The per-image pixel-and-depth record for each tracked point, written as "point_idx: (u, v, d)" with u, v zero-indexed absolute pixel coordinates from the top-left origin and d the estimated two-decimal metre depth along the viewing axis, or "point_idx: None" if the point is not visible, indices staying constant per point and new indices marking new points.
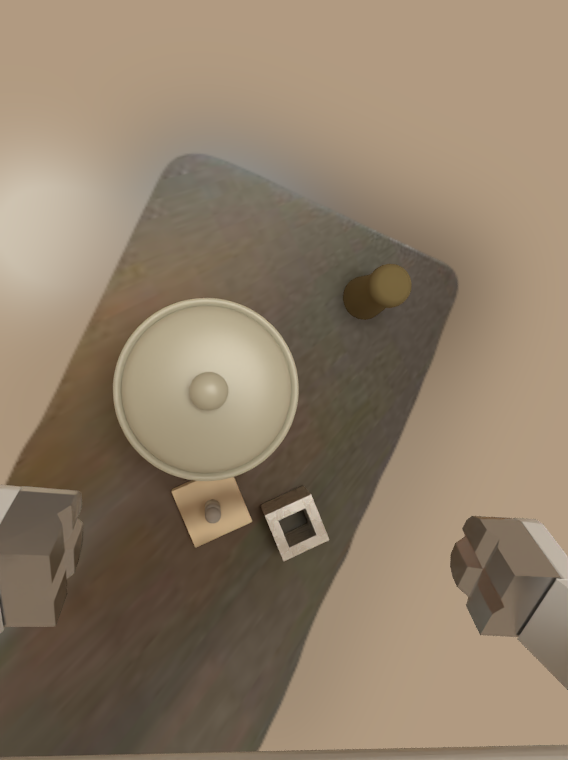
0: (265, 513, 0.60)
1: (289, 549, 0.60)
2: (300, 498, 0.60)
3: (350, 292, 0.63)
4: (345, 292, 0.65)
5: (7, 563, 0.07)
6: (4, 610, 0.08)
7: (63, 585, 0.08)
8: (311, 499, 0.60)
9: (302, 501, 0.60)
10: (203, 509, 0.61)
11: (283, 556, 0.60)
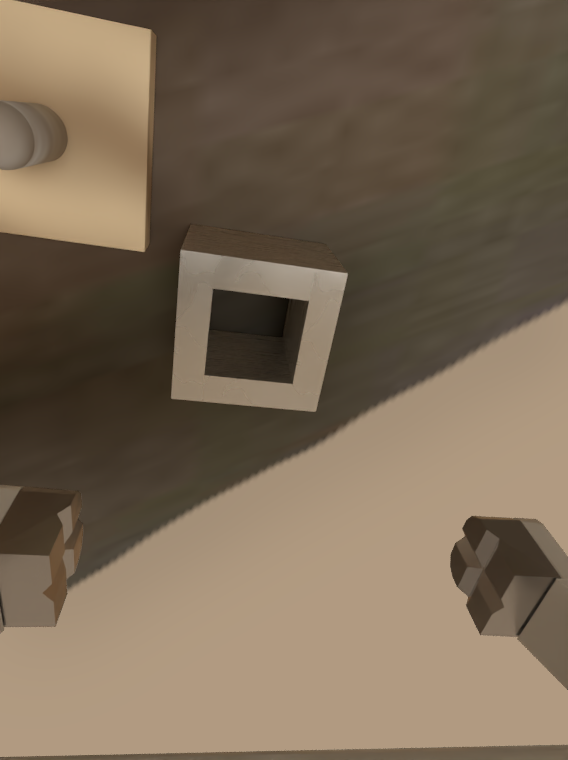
0: (188, 246, 0.18)
1: (202, 379, 0.20)
2: (311, 266, 0.18)
3: None
4: None
5: (7, 563, 0.07)
6: (4, 610, 0.08)
7: (63, 585, 0.08)
8: (340, 287, 0.19)
9: (312, 277, 0.18)
10: None
11: (176, 387, 0.20)
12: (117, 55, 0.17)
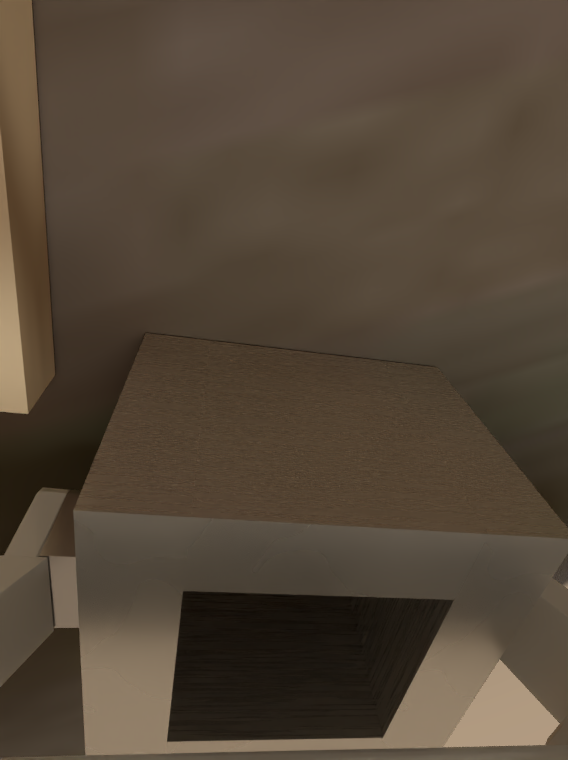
0: (108, 476, 0.06)
1: (162, 747, 0.08)
2: (468, 514, 0.06)
3: None
4: None
5: (61, 565, 0.07)
6: (55, 611, 0.08)
7: None
8: (545, 570, 0.07)
9: (474, 552, 0.06)
10: None
11: None
12: None
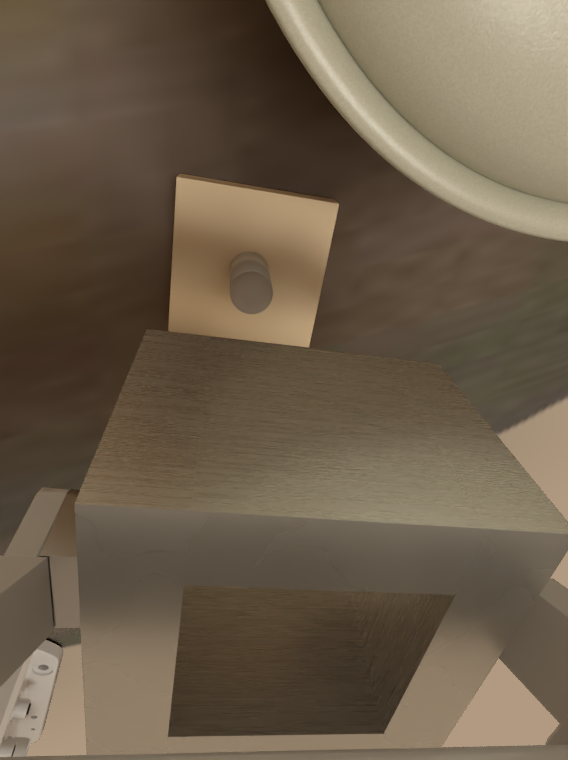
0: (108, 470, 0.06)
1: (163, 742, 0.08)
2: (469, 509, 0.06)
3: None
4: None
5: (61, 565, 0.07)
6: (55, 611, 0.08)
7: None
8: (546, 565, 0.07)
9: (475, 547, 0.06)
10: (227, 264, 0.25)
11: None
12: (313, 220, 0.24)
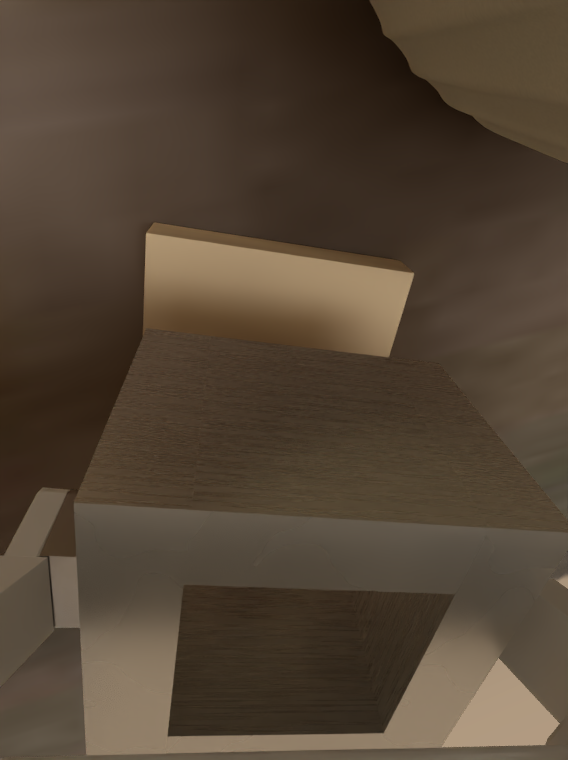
0: (108, 469, 0.06)
1: (163, 742, 0.08)
2: (470, 508, 0.06)
3: None
4: None
5: (61, 565, 0.07)
6: (55, 611, 0.08)
7: None
8: (546, 564, 0.07)
9: (475, 546, 0.06)
10: None
11: None
12: (371, 298, 0.15)
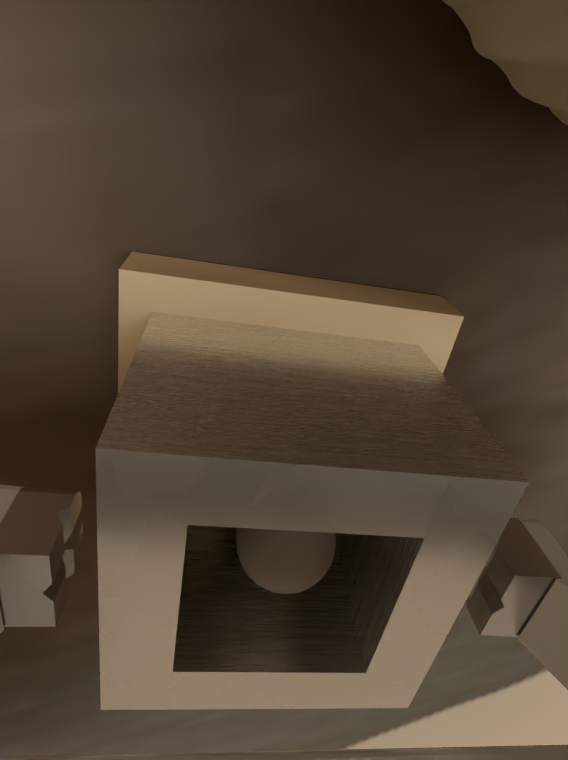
0: (123, 423, 0.07)
1: (168, 677, 0.09)
2: (435, 461, 0.07)
3: None
4: None
5: (7, 563, 0.07)
6: (4, 610, 0.08)
7: (63, 585, 0.08)
8: (503, 510, 0.08)
9: (440, 493, 0.07)
10: None
11: (111, 693, 0.09)
12: None
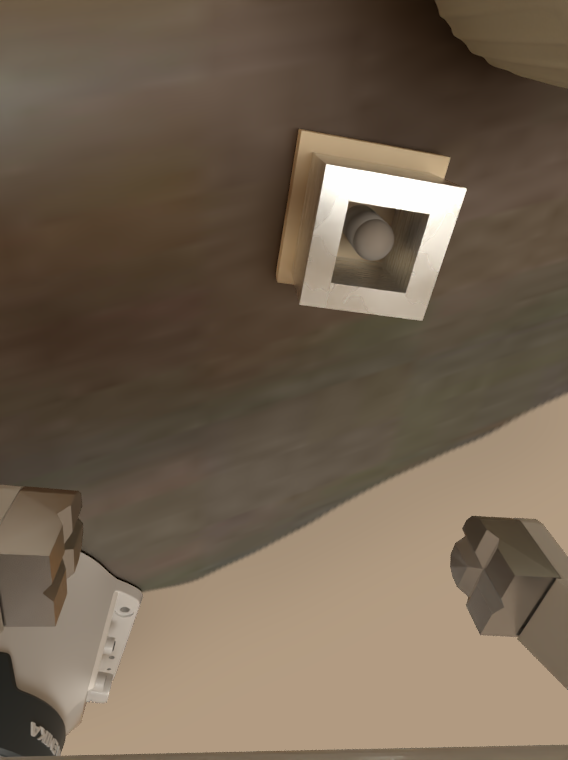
0: (329, 163, 0.21)
1: (328, 286, 0.23)
2: (434, 182, 0.21)
3: None
4: None
5: (7, 563, 0.07)
6: (4, 610, 0.08)
7: (63, 585, 0.08)
8: (458, 202, 0.21)
9: (435, 192, 0.21)
10: None
11: (305, 293, 0.23)
12: None
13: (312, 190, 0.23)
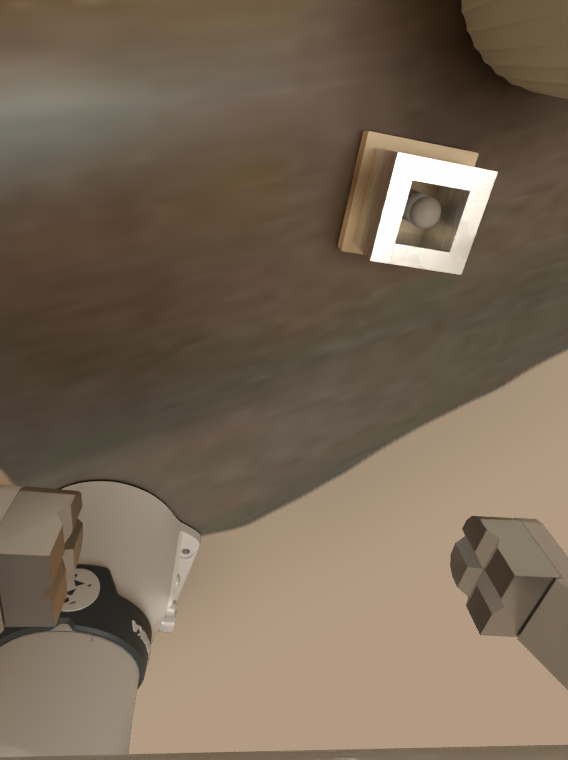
0: None
1: (392, 246, 0.30)
2: (473, 167, 0.29)
3: None
4: None
5: (7, 563, 0.07)
6: (4, 610, 0.08)
7: (63, 585, 0.08)
8: (491, 182, 0.29)
9: (475, 174, 0.29)
10: None
11: (375, 251, 0.30)
12: None
13: (379, 174, 0.30)
